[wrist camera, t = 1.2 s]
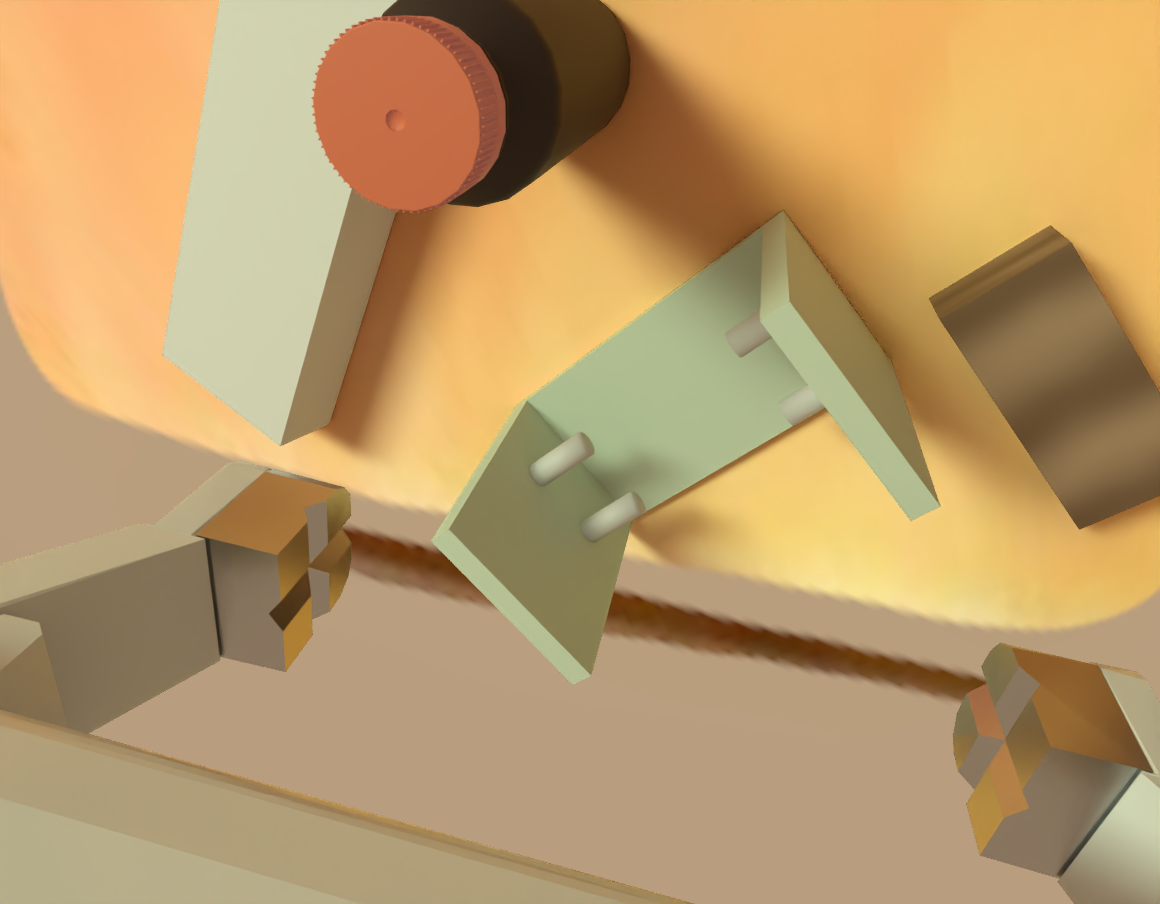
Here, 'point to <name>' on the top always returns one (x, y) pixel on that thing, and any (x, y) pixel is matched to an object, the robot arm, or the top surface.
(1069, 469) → the plank
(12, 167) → the top surface
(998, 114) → the top surface
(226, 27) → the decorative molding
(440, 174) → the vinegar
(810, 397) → the shelf frame
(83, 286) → the top surface
